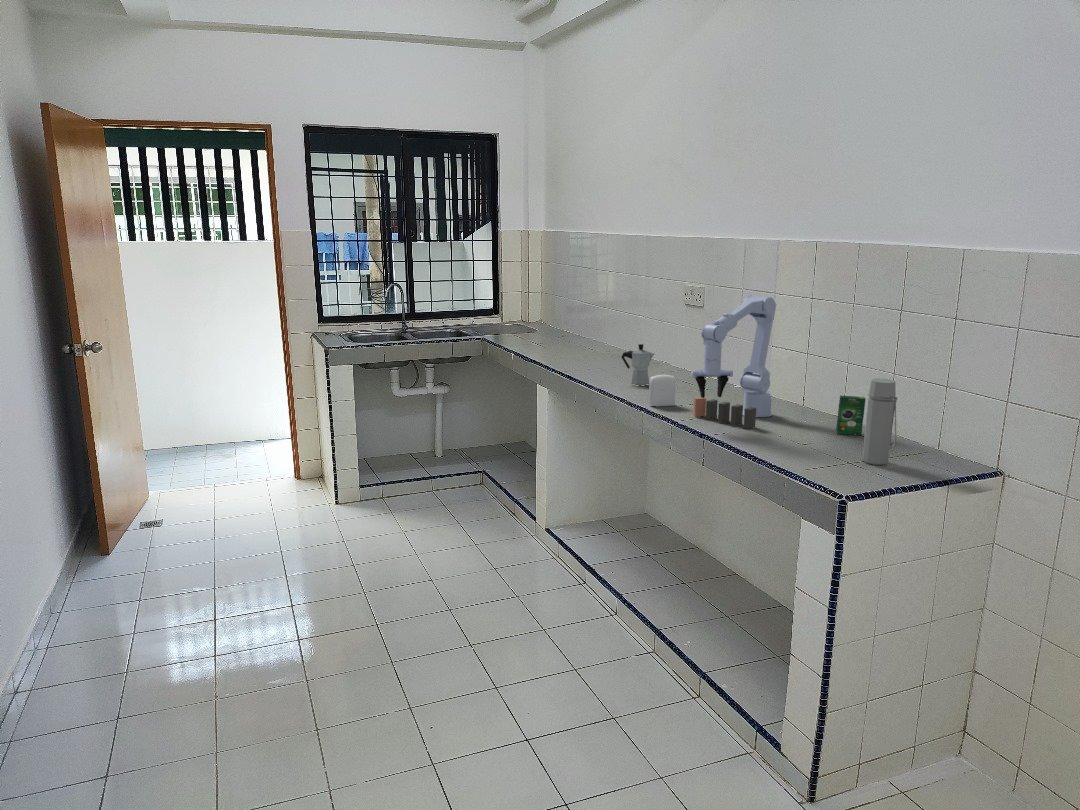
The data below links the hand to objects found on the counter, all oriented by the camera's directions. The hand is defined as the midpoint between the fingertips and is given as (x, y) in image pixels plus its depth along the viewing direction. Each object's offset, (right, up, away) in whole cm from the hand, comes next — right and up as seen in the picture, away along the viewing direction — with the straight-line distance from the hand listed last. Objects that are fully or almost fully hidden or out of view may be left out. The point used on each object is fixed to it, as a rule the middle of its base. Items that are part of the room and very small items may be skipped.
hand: (710, 397), depth 270 cm
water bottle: (+41, -20, -40) cm, 61 cm away
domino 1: (+3, -8, +12) cm, 14 cm away
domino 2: (+6, -9, +7) cm, 13 cm away
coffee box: (+45, -13, -10) cm, 47 cm away
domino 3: (+10, -10, +3) cm, 14 cm away
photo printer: (-12, -3, +32) cm, 35 cm away
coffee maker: (-17, +6, +72) cm, 74 cm away
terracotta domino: (-1, -7, +16) cm, 17 cm away
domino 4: (+13, -11, -1) cm, 17 cm away
